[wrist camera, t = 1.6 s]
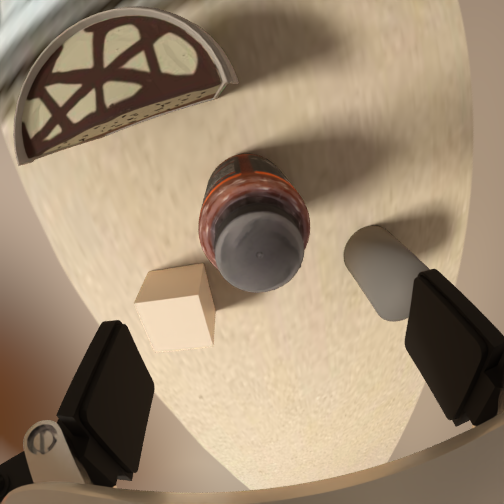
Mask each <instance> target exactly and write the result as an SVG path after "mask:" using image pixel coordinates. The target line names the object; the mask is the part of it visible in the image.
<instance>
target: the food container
mask: <svg viewBox="0 0 504 504" xmlns="http://www.w3.org/2000/svg"><path fill="white" fill-rule="evenodd" d="M229 83H232V84H239V82H238V79H237V76H236V74H235V71H234V68H233V66H232V64H231V63H230V61H229V59H228V57H227V56H226V54H225V52H224V51H223V49H222V48H221V47H220V46H219V45H218V44H217V42H216V41H215V40H214V39H213V38H212V37H211V36H210V35H209V34H208V33H206V32H205V31H204V30H203V29H201V28H200V27H199V26H198V25H196V24H194V23H192V22H190V21H188V20H186V19H185V18H183V17H181V16H178V15H176V14H173V13H170V12H167V11H164V10H160V9H156V8H148V7H122V8H117V9H112V10H108V11H104V12H101V13H98V14H95V15H93V16H90V17H88V18H86V19H83V20H81V21H79V22H78V23H76V24H74V25H73V26H71V27H70V28H68V29H66V30H65V31H64V32H63V33H61V34H60V35H59V36H58V37H57V38H56V39H54V40H53V41H52V42H51V43H50V44H49V45H48V47H47V48H46V49H45V50H44V51H43V52H42V53H41V54H40V56H39V57H38V59H37V60H36V62H35V63H34V65H33V66H32V68H31V69H30V71H29V73H28V75H27V77H26V79H25V81H24V84H23V86H22V89H21V92H20V95H19V98H18V101H17V106H16V111H15V117H14V146H15V154H16V158H17V162H18V166H20V165H24V164H28V163H31V162H33V161H34V160H36V159H38V158H41V157H44V156H46V155H49V154H52V153H55V152H58V151H61V150H64V149H67V148H70V147H73V146H76V145H79V144H82V143H86V142H89V141H92V140H96V139H99V138H103V137H105V136H107V135H110V134H112V133H115V132H117V131H120V130H122V129H125V128H128V127H130V126H133V125H136V124H138V123H141V122H144V121H147V120H149V119H152V118H155V117H158V116H161V115H164V114H167V113H170V112H173V111H176V110H180V109H183V108H186V107H189V106H193V105H196V104H200V103H203V102H207V101H211V100H214V99H217V98H218V96H219V95H220V93H221V92H222V91H223V89H224V88H225V87H226V85H227V84H229Z"/></svg>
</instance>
